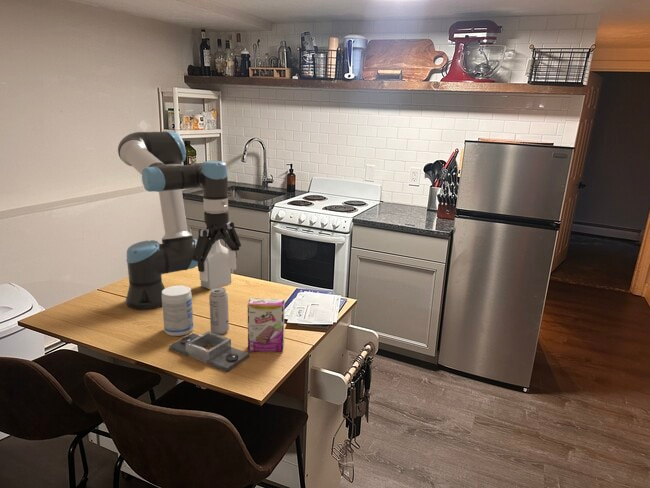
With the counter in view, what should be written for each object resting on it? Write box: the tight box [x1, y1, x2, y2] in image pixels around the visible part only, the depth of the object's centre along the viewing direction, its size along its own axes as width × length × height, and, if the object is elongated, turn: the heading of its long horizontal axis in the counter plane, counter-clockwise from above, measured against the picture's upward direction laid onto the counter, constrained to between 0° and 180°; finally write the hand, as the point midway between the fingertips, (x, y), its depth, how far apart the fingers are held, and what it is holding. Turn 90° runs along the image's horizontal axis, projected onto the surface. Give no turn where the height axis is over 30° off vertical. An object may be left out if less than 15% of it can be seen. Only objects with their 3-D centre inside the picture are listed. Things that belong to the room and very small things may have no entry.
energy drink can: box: [208, 287, 230, 336], centre depth 157 cm, size 6×6×15 cm
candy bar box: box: [247, 297, 286, 353], centre depth 146 cm, size 11×5×16 cm, turn 91°
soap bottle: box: [200, 239, 232, 291], centre depth 195 cm, size 11×8×27 cm
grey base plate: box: [168, 330, 250, 372], centre depth 144 cm, size 24×10×4 cm, turn 59°
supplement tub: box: [161, 285, 195, 337], centre depth 157 cm, size 10×10×15 cm
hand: (218, 274), depth 153 cm, fingers open, 13 cm apart
